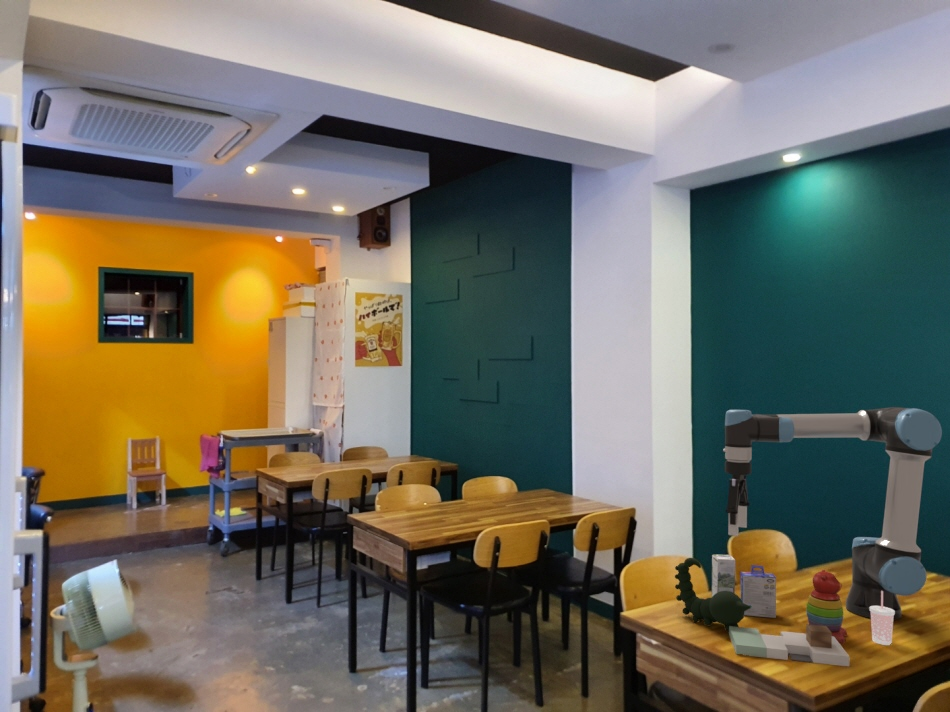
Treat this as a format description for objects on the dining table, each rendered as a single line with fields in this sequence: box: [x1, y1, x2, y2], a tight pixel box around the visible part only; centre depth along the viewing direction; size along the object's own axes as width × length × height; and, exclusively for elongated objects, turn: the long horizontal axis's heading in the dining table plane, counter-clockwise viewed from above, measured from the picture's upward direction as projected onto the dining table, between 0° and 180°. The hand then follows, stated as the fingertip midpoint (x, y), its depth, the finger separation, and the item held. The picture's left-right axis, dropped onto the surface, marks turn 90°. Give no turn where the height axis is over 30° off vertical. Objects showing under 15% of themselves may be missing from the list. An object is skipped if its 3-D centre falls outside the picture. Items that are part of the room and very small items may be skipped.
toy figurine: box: [674, 557, 751, 633], centre depth 202 cm, size 9×19×25 cm
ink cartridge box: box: [740, 564, 777, 619], centre depth 212 cm, size 10×6×14 cm, turn 78°
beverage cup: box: [869, 591, 895, 646], centre depth 192 cm, size 6×6×14 cm
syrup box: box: [710, 554, 736, 598], centre depth 224 cm, size 6×6×14 cm
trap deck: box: [728, 626, 850, 667], centre depth 184 cm, size 27×14×2 cm, turn 77°
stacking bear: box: [805, 569, 848, 645], centre depth 196 cm, size 11×10×18 cm
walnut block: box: [805, 623, 832, 648], centre depth 182 cm, size 5×5×4 cm
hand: (737, 531), depth 209 cm, fingers open, 13 cm apart
